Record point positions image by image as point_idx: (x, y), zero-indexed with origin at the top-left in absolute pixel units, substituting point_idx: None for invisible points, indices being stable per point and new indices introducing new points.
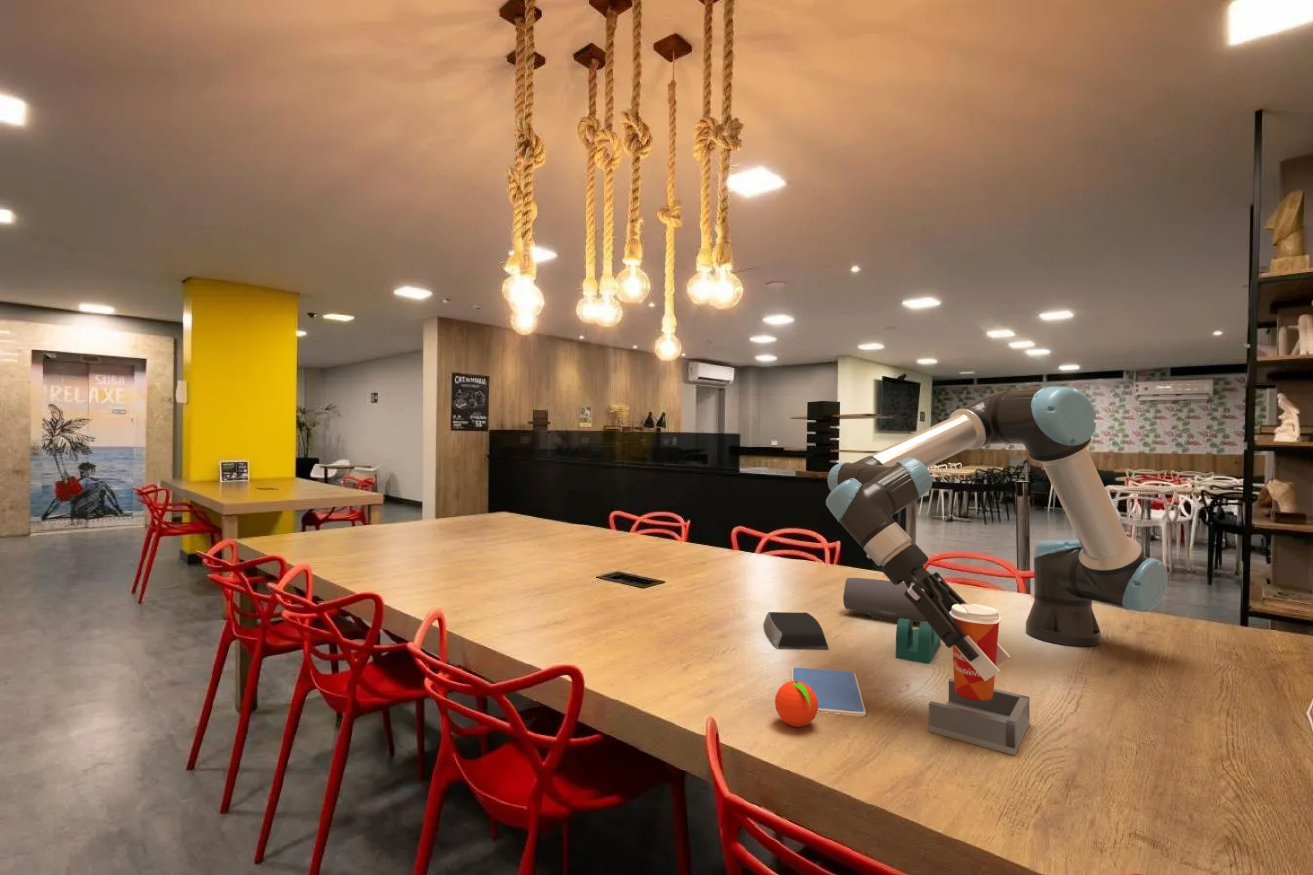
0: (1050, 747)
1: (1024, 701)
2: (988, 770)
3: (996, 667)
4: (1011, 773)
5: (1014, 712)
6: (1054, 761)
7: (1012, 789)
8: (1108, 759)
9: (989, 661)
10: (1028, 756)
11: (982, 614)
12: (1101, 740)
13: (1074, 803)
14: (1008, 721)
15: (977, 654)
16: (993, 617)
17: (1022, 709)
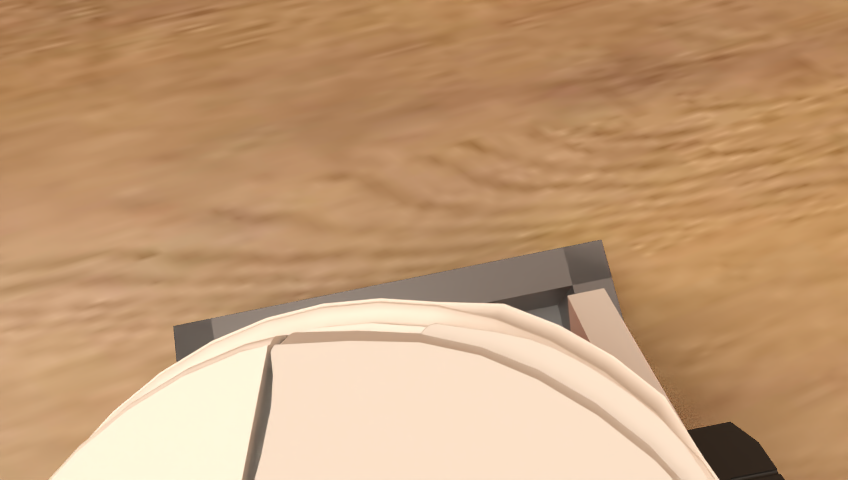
0: (391, 209)
1: (260, 319)
2: (787, 289)
3: (591, 310)
4: (732, 225)
5: (445, 299)
6: (501, 161)
7: (844, 179)
8: (331, 53)
9: (637, 346)
10: (539, 235)
11: (660, 478)
12: (180, 112)
13: (749, 28)
14: (582, 276)
15: (695, 439)
16: (472, 344)
17: (375, 287)
